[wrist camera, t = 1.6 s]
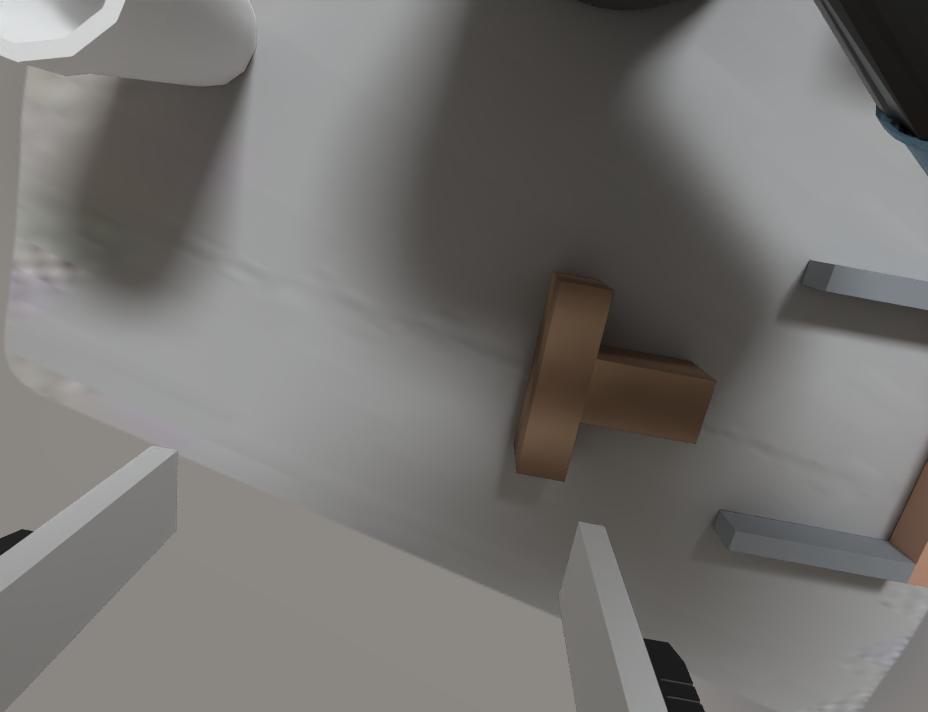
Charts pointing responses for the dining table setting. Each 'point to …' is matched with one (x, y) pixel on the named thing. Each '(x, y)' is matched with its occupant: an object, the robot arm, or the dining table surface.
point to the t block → (598, 383)
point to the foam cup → (132, 38)
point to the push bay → (900, 559)
